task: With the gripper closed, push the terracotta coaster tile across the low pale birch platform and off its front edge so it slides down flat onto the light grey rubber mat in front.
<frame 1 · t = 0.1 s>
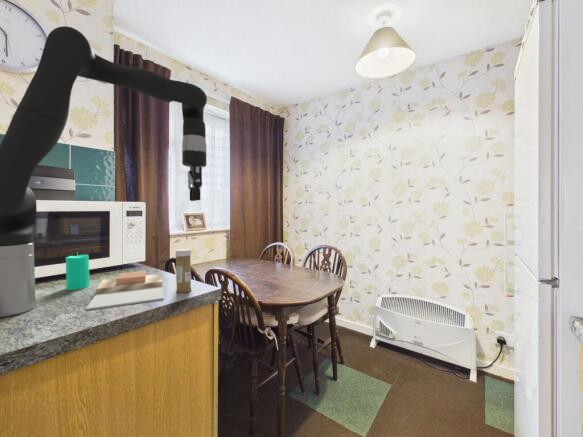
hand: (194, 200, 87), 29 cm above the counter, tool pointing down, fingers open, 8 cm apart
deck: (132, 286, 89), on the counter
tile: (132, 280, 88), point 2 cm above the counter, touching deck
sprinkles bottle: (183, 291, 84), on the counter
candle: (78, 287, 87), on the counter
mat: (129, 297, 77), on the counter
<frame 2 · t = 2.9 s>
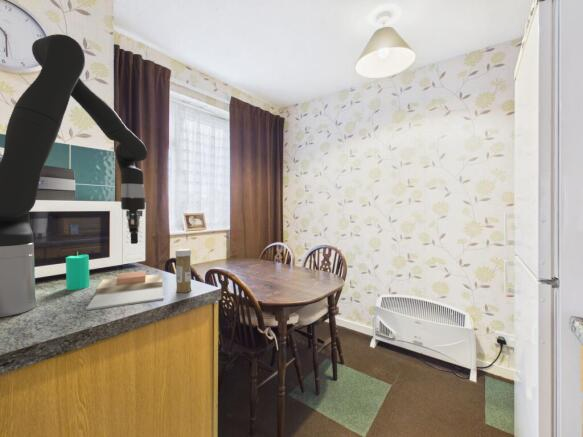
hand: (134, 243, 97), 13 cm above the counter, tool pointing down, fingers closed
nothing on the counter moved.
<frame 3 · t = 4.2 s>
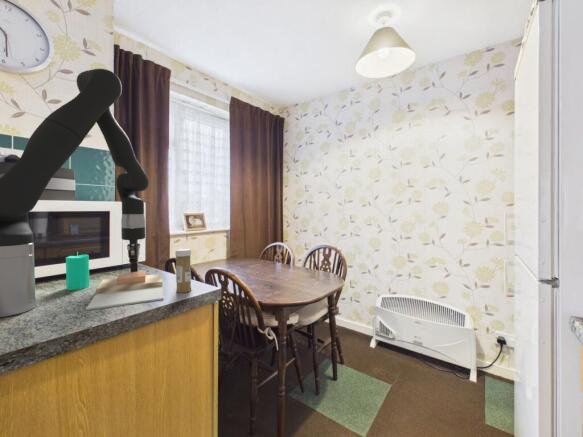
hand: (134, 272, 97), 2 cm above the counter, tool pointing down, fingers closed
nothing on the counter moved.
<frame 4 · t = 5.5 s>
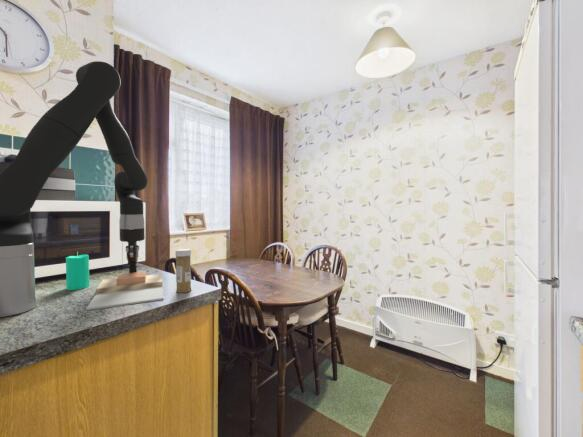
hand: (133, 275, 93), 2 cm above the counter, tool pointing down, fingers closed
tile: (132, 280, 88), point 2 cm above the counter, touching deck, gripper
everything else where it was.
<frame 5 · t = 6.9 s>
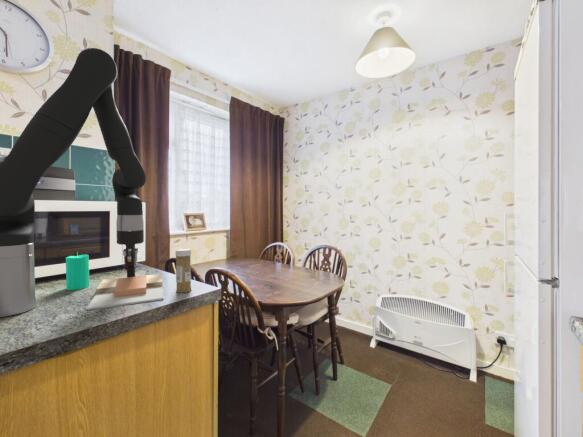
hand: (131, 281, 86), 2 cm above the counter, tool pointing down, fingers closed
tile: (131, 288, 81), point 1 cm above the counter, tilted 14°, touching gripper
everything else where it was.
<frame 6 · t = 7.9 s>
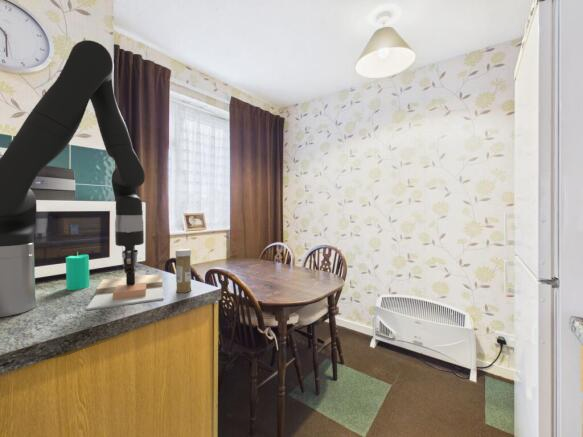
hand: (130, 284, 82), 3 cm above the counter, tool pointing down, fingers closed
tile: (131, 293, 79), resting on mat
everything else where it was.
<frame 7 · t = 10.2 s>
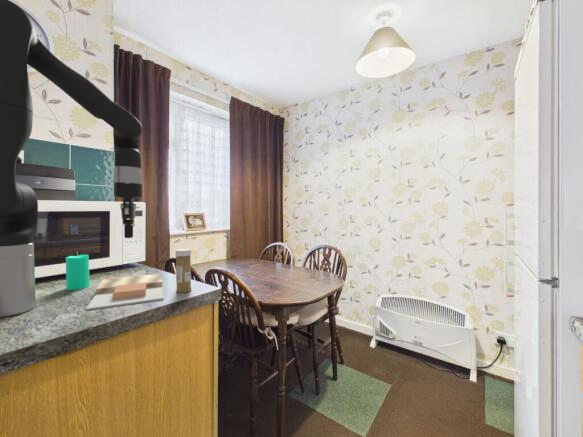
hand: (128, 237, 82), 17 cm above the counter, tool pointing down, fingers closed
nothing on the counter moved.
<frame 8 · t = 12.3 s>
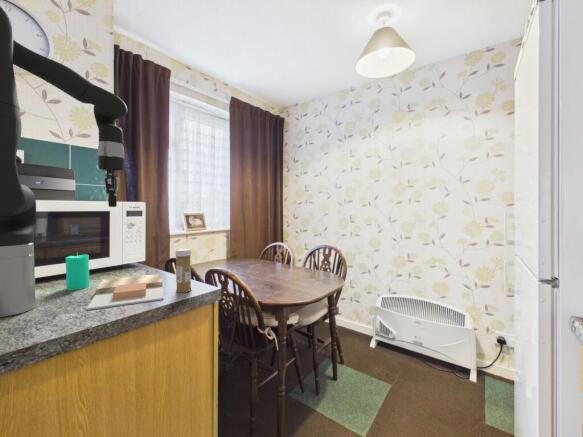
hand: (112, 206, 91), 27 cm above the counter, tool pointing down, fingers closed
nothing on the counter moved.
at the end: tile inside the target area (2.4 cm from its centre), point 0.5 cm above the counter; tile point 0.5 cm above the counter; tile tilted 0° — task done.
